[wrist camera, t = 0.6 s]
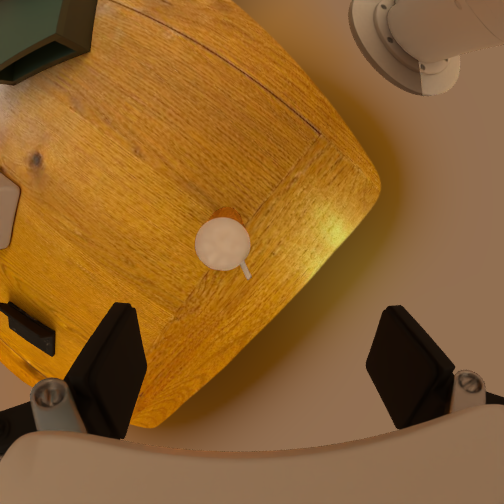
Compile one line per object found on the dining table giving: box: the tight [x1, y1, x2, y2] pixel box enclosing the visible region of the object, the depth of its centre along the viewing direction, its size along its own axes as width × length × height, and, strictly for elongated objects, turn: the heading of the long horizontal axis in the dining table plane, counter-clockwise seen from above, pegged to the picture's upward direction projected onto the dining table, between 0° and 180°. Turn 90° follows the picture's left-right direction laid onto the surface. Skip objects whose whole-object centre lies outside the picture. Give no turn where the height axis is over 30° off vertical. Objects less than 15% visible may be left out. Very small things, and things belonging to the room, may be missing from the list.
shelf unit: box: [0, 0, 97, 85], centre depth 12 cm, size 16×14×16 cm
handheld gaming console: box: [0, 301, 55, 357], centre depth 32 cm, size 12×7×10 cm
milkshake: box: [195, 207, 252, 280], centre depth 26 cm, size 5×5×10 cm
